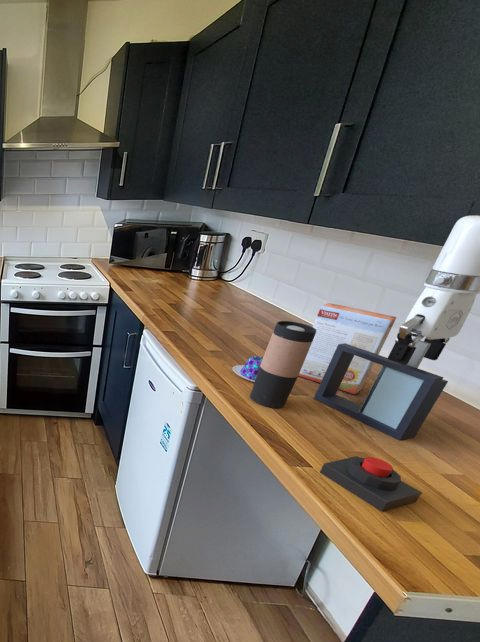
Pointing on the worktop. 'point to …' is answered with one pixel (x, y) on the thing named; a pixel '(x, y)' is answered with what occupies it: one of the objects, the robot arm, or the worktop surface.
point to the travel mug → (282, 363)
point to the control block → (370, 484)
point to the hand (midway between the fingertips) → (411, 359)
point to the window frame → (383, 393)
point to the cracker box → (345, 328)
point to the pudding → (249, 368)
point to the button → (377, 467)
